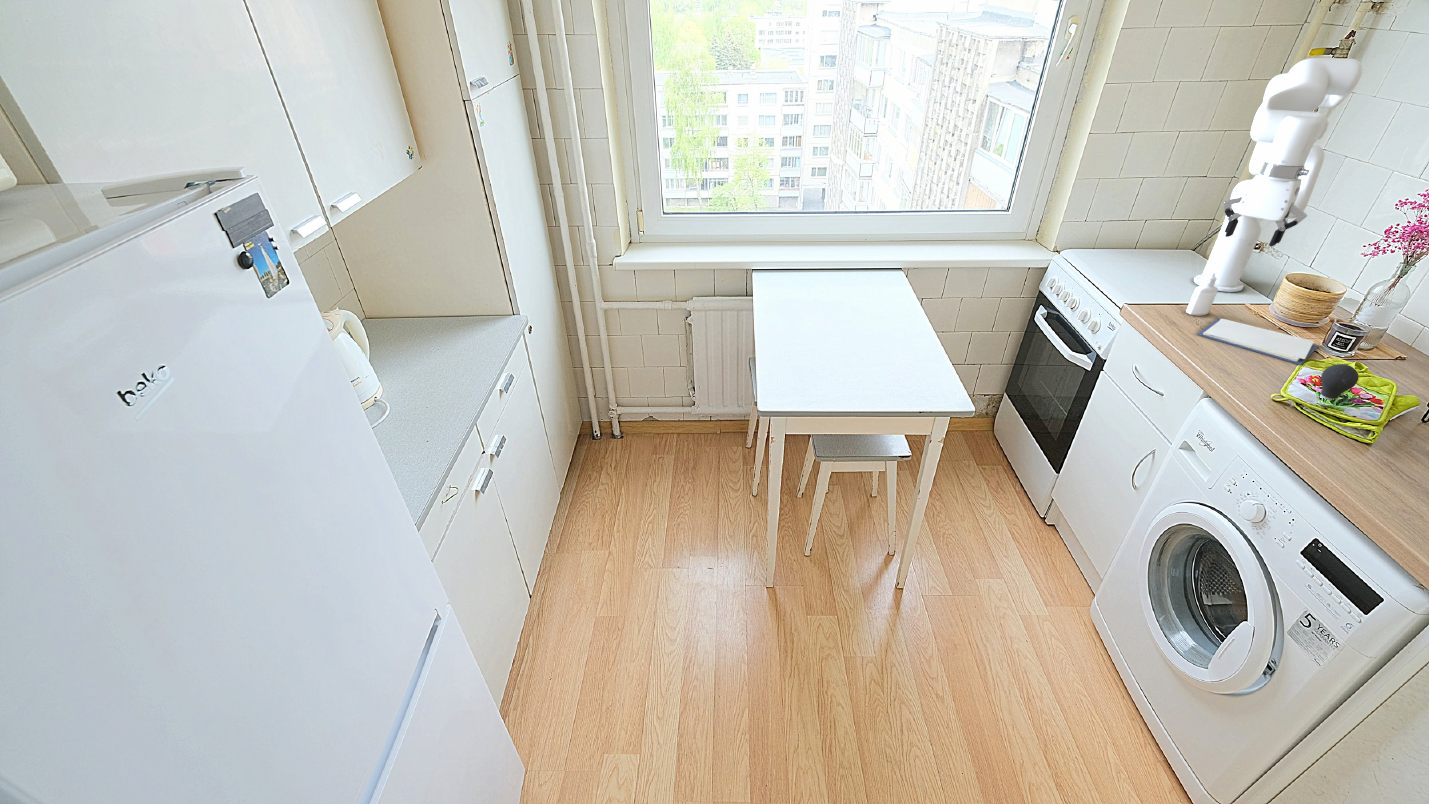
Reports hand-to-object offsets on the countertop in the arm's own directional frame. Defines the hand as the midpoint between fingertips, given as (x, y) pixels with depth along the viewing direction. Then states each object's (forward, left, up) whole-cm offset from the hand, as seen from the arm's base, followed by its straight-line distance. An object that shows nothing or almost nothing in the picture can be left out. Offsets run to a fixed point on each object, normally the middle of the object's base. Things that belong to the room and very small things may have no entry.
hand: (1250, 240), depth 164 cm
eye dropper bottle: (-1, -5, -23) cm, 23 cm away
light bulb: (+30, +34, -23) cm, 50 cm away
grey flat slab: (+5, +12, -23) cm, 26 cm away
